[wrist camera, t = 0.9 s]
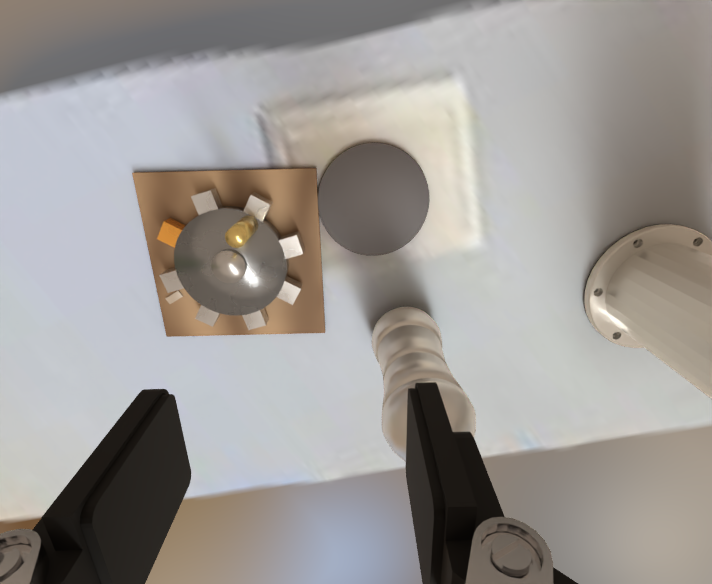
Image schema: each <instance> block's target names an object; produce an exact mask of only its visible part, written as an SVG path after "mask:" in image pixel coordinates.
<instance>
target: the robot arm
mask: <svg viewBox="0 0 712 584" xmlns="http://www.w3.org/2000/svg"><path fill="white" fill-rule="evenodd" d="M584 304H585V309H586V314H587V316H588V318H589V321H590V323H591V324H592V325H593V326H594V328H595V329H596V330H597V331H598V332H599V333H600V334H601V335H603V336H604V337H605V338H606V339H608V340H609V341H611V342H613V343H615V344H618V345H621V346H624V347H631V348H646V349H647V350H648V351H650V352H651V353H652V354H654V355H655V356H656V357H657V358H659V359H660V360H661V361H663V362H664V363H665V364H667V365H668V366H669V367H671V368H672V369H673V370H674V371H676V372H677V373H678V374H680V375H681V376H682V377H684V378H685V379H686V380H687V381H689V382H690V383H691V384H693V385H694V386H695V387H697V388H698V389H699V390H701V391H702V392H703V393H704V394H706V395H707V396H708V397H710V398H711V399H712V241H711V240H710V239H709V238H708V237H707V236H705V235H704V234H702V233H700V232H698V231H696V230H694V229H691V228H688V227H685V226H680V225H674V224H659V225H654V226H649V227H645V228H642V229H640V230H637V231H634V232H632V233H630V234H629V235H627V236H625V237H623V238H622V239H620V240H619V241H617V242H616V243H615V244H614V245H612V246H611V247H610V248H609V249H608V250H607V251H606V252H605V253H604V254H603V255H602V256H601V257H600V259H599V260H598V262H597V263H596V265H595V266H594V268H593V269H592V272H591V274H590V276H589V278H588V281H587V285H586V289H585V299H584ZM406 478H407V485H408V491H409V497H410V504H411V511H412V517H413V524H414V530H415V537H416V543H417V549H418V556H419V562H420V569H421V575H422V582H423V584H578V583H576V582H575V581H573V580H572V579H570V578H569V577H567V576H566V575H564V574H563V573H561V572H560V571H558V570H556V569H555V568H553V561H552V556H551V551H550V549H549V548H548V546H547V544H546V542H545V540H544V539H543V538H542V537H541V536H540V535H539V534H538V533H537V532H536V531H535V530H534V529H532V528H531V527H530V526H528V525H527V524H525V523H523V522H520V521H518V520H516V519H513V518H506V517H504V514H503V512H502V509H501V507H500V504H499V502H498V499H497V496H496V494H495V491H494V489H493V486H492V483H491V481H490V478H489V476H488V474H487V471H486V468H485V465H484V463H483V460H482V458H481V455H480V453H479V450H478V447H477V445H476V442H475V440H474V437H473V435H472V433H471V432H453V431H452V428H451V425H450V422H449V419H448V416H447V413H446V409H445V406H444V403H443V400H442V397H441V394H440V391H439V388H438V385H437V383H436V382H427V383H416V384H415V388H408V399H407V437H406ZM190 480H191V469H190V464H189V460H188V455H187V450H186V446H185V441H184V437H183V432H182V427H181V423H180V418H179V414H178V409H177V404H176V400H175V397H174V395H172V394H169V393H168V391H167V390H165V389H148V390H142V391H141V392H140V393H139V394H138V396H137V397H136V398H135V399H134V401H133V402H132V403H131V405H130V406H129V407H128V408H127V410H126V411H125V412H124V413H123V415H122V416H121V417H120V419H119V420H118V421H117V422H116V424H115V425H114V426H113V427H112V429H111V430H110V431H109V432H108V434H107V435H106V436H105V438H104V439H103V440H102V441H101V443H100V444H99V445H98V446H97V448H96V449H95V450H94V452H93V453H92V454H91V455H90V457H89V458H88V459H87V460H86V462H85V463H84V464H83V466H82V467H81V468H80V469H79V471H78V472H77V473H76V474H75V476H74V477H73V478H72V480H71V481H70V482H69V483H68V485H67V486H66V487H65V488H64V490H63V491H62V492H61V493H60V495H59V496H58V497H57V499H56V500H55V501H54V502H53V504H52V505H51V506H50V507H49V509H48V510H47V511H46V513H45V514H44V515H43V516H42V518H41V520H40V521H39V522H38V524H37V525H36V526H35V527H34V529H33V530H30V529H17V530H12V531H7V532H5V533H2V534H0V584H145V582H146V580H147V578H148V575H149V573H150V571H151V569H152V567H153V564H154V562H155V560H156V558H157V555H158V553H159V551H160V549H161V547H162V544H163V542H164V540H165V538H166V536H167V533H168V531H169V529H170V527H171V524H172V522H173V520H174V518H175V515H176V513H177V511H178V509H179V506H180V504H181V502H182V500H183V498H184V495H185V493H186V491H187V489H188V487H189V484H190Z"/></svg>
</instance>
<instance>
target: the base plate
mask: <svg viewBox="0 0 712 584" xmlns="http://www.w3.org/2000/svg"><path fill="white" fill-rule="evenodd" d="M132 174H133V179H134V183H135V188H136V193H137V198H138V202H139V207H140V212H141V217H142V221H143V226H144V231H145V236H146V240H147V245H148V250H149V255H150V259H151V264H152V269H153V274H154V278H155V283H156V288H157V293H158V297H159V302H160V307H161V312H162V316H163V321H164V326H165V331H166V335H167V336H209V335H251V334H293V333H325V316H324V298H323V280H322V262H321V243H320V225H319V209H318V189H317V171H316V168H299V169H257V170H215V171H174V172H135V173H132ZM214 188H216V191H217V193H218V196H219V198H220V201H221V203H222V205H223V206H236V207H242V208H245V207H246V204H247V202H248V200H249V198H250V195H251V194H253V193H254V192H255V193H257V194H259V195H261V196H262V197H264V198H266V199H268V200H270V201H272V202H273V203H272V205H271V208H270V210H269V212H268V214H267V216H266V218H265V219H267V220H268V221H269V222H270V223H271V224H272V225H273V226H274V227H275V228H276V229H277V231H278V232H279V233H280V235H281V236H284V235H288V234H291V233H295V232H298V231H299V234H300V237H301V240H302V243H303V245H304V248H305V251H304V254H302V255H298V256H295V257H291V258H288V260H289V266H288V273H287V276H288V277H290V278H292V279H294V280H296V281H298V282H300V283H302V288H301V290H300V292H299V294H298V296H297V298H296V299H295V301H294V303H293V305H292V304H290V303H288V302H286V301H284V300H282V299H279V298H277V297H276V298H275V299H274V300H273V301H272V302H271V303H270V304H269V305H267V306H266V307H265V311H266V313H267V316H268V318H269V320H268V322H267V325H266V326H262V327H258V328H255V329H251V330H248V328H247V325H246V323H245V321H244V319H243V316H242V315H238V316H235V315H225V314H221V313H220V316H219V318H218V320H217V321H216V323H215V324H214V326H213V327H212V326H210V325H208V324H205V323H203V322H201V321H199V320H197V319H195V318H196V315H197V313H198V311H199V309H200V306H201V304H199V303H198V302H197V301H195V300H194V299H193V298H192V297H191V296H190V295H189V294H188V293H187V291H186V290H185V289H184V288H183V289H180V290H176V291H173V292H169V293H168V292H167V290H166V288H165V286H164V284H163V282H162V280H161V278H160V276H159V275H160V274H161V273H163V272H164V271H165V270H168V269H172V268H175V264H174V250H175V248H174V247H172V246H170V245H168V244H166V243H164V242H162V241H160V240H158V239H157V237H158V235H159V232H160V230H161V227H162V224H163V222H164V221H165V220H167V219H169V218H171V219H173V220H175V221H177V222H179V223H181V224H183V225H185V226H186V225H187V224H188V223H189V222H190V221H191V220H193V219H194V218H195V217H197V216H199V214H198V212H197V210H196V207H195V205H194V203H193V200H192V198H191V196H193V195H195V194H198V193H201V192H204V191H207V190H211V189H214Z"/></svg>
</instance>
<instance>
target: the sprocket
mask: <svg viewBox="0 0 712 584" xmlns="http://www.w3.org/2000/svg"><path fill="white" fill-rule="evenodd" d="M191 198H192V200H193V203H194V205H195V207H196V210H197V212H198V214H199V216H197V217H195V218H194V219H193V220H191V221H190V222H189V223H188V224H187V225H186V226H185V225H183V224H181V223H179V222H177V221H175V220H173V219H171V218H169V219H167V220H165V221H164V222H163V224H162V227H161V230H160V232H159V235H158V237H157V239H158V240H160V241H162V242H164V243H166V244H168V245H170V246H172V247H174V248H175V250H174V264H175V268H172V269H168V270H165V271H164V272H163V273H161V274H160V275H159V276H160V278H161V280H162V282H163V284H164V286H165V288H166V290H167V292H168V293H169V292H173V291H176V290H180V289H183V288H184V289H185V290H186V291H187V293H188V294H189V295H190V296H191V297H192V298H193V299H194V300H195V301H197V302H198V303H199V304H201V306H200V309H199V311H198V313H197V315H196V318H195V319H197V320H199V321H201V322H203V323H205V324H208V325H210V326H212V327H213V326H214V324H215V323H216V321H217V320H218V318H219V316H220V313H221V314H225V315H235V316H238V315H242V316H243V319H244V321H245V323H246V325H247V328H248V330H251V329H255V328H258V327H262V326H266V325H267V322H268V320H269V318H268V316H267V313H266V311H265V307H266V306H267V305H269V304H270V303H271V302H272V301H273V300H274V299H275V298H276V297H277V298H279V299H282V300H284V301H286V302H288V303H290V304H292V305H293V303H294V301H295V299H296V298H297V296H298V294H299V292H300V290H301V288H302V283H300V282H298V281H296V280H294V279H292V278H290V277H288V276H287V273H288V266H289V260H288V258H291V257H295V256H298V255H302V254H304V251H305V248H304V245H303V243H302V240H301V237H300V234H299V231H298V232H295V233H291V234H288V235H284V236H281V235H280V233H279V232H278V231H277V229H276V228H275V227H274V226H273V225H272V224H271V223H270V222H269V221H268V220H267V219H265V218H266V216H267V214H268V212H269V210H270V208H271V205H272V203H273V202H272V201H270V200H268V199H266V198H264V197H262V196H261V195H259V194H257V193H255V192H254V193H253V194H251V195H250V198H249V200H248V202H247V204H246V207H245V208H242V207H236V206H223V205H222V203H221V201H220V198H219V196H218V193H217V191H216V188H214V189H211V190H207V191H204V192H201V193H198V194H195V195H193V196H191Z"/></svg>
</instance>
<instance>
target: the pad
mask: <svg viewBox="0 0 712 584" xmlns="http://www.w3.org/2000/svg"><path fill="white" fill-rule="evenodd" d="M428 208H429V190H428V184H427V181H426V178H425V176H424V174H423V172H422V170H421V168H420V167H419V165H418V164H417V163H416V162H415V160H414V159H413V158H411V157H410V156H409V155H408V154H407V153H405V152H404V151H402V150H400V149H398V148H396V147H394V146H391V145H388V144H383V143H365V144H361V145H357V146H354V147H352V148H350V149H348V150H346V151H344V152H343V153H342V154H340V155H339V156H338V157H337V158H336V159H335V160H334V161H333V162H332V163H331V164H330V165H329V167H328V168H327V170H326V172H325V173H324V175H323V178H322V180H321V183H320V187H319V192H318V209H319V214H320V218H321V220H322V223H323V225H324V227H325V228H326V230H327V232H328V233H329V234H330V236H331V237H332V238H333V239H334V240H335V241H336V242H337V243H339V244H340V245H341V246H343V247H344V248H346V249H348V250H350V251H352V252H355V253H358V254H363V255H383V254H387V253H390V252H393V251H396V250H398V249H400V248H401V247H403V246H404V245H406V244H407V243H408V242H409V241H411V240H412V239H413V238H414V237H415V235H416V234H417V233H418V232H419V230H420V229H421V227H422V225H423V223H424V221H425V218H426V216H427V212H428Z"/></svg>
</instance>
